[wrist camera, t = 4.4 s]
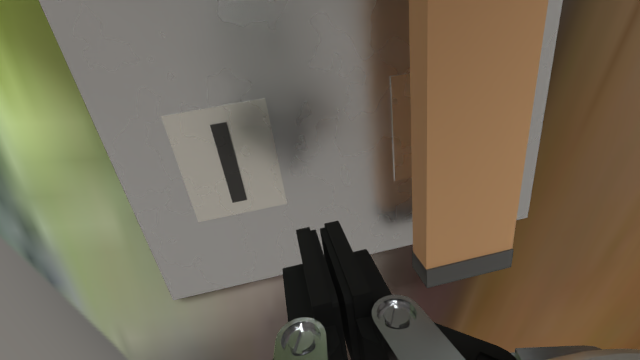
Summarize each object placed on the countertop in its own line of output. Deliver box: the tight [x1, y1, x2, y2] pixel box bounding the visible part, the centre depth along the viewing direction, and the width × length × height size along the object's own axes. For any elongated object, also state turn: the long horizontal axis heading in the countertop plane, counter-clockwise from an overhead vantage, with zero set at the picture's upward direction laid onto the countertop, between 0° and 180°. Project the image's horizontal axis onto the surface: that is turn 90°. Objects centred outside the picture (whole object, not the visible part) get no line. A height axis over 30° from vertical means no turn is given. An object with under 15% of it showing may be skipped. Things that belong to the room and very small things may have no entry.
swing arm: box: [409, 0, 548, 288], centre depth 15 cm, size 19×5×2 cm, turn 8°
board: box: [39, 0, 563, 300], centre depth 17 cm, size 18×24×3 cm
